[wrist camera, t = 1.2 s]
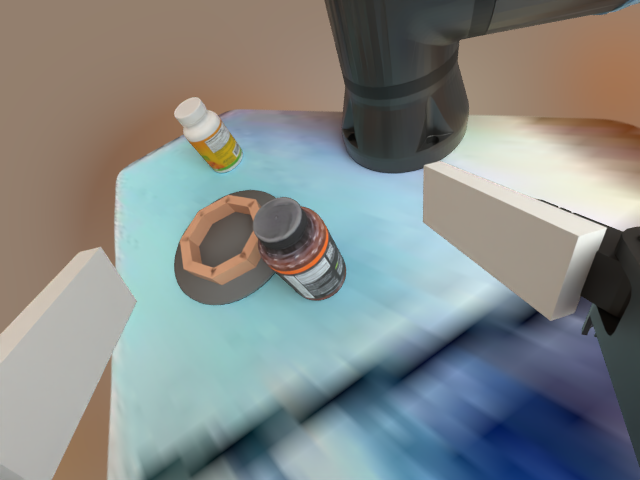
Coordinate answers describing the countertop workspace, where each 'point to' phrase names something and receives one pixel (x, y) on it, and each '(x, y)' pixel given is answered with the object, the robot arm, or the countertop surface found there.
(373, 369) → the countertop surface
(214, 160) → the supplement bottle
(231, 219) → the mat
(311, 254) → the supplement bottle
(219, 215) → the collar
